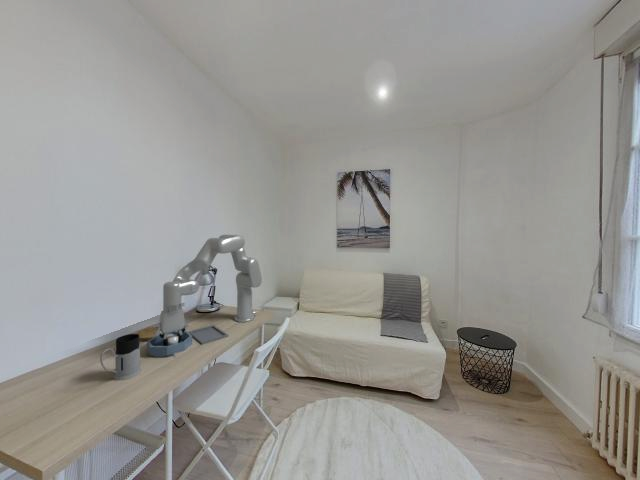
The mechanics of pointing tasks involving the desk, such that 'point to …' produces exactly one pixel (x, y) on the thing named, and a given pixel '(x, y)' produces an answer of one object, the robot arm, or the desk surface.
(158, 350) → the bowl
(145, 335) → the plant saucer
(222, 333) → the tray
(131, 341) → the glass holder
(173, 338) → the pebble
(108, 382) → the desk surface
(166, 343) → the robot arm
